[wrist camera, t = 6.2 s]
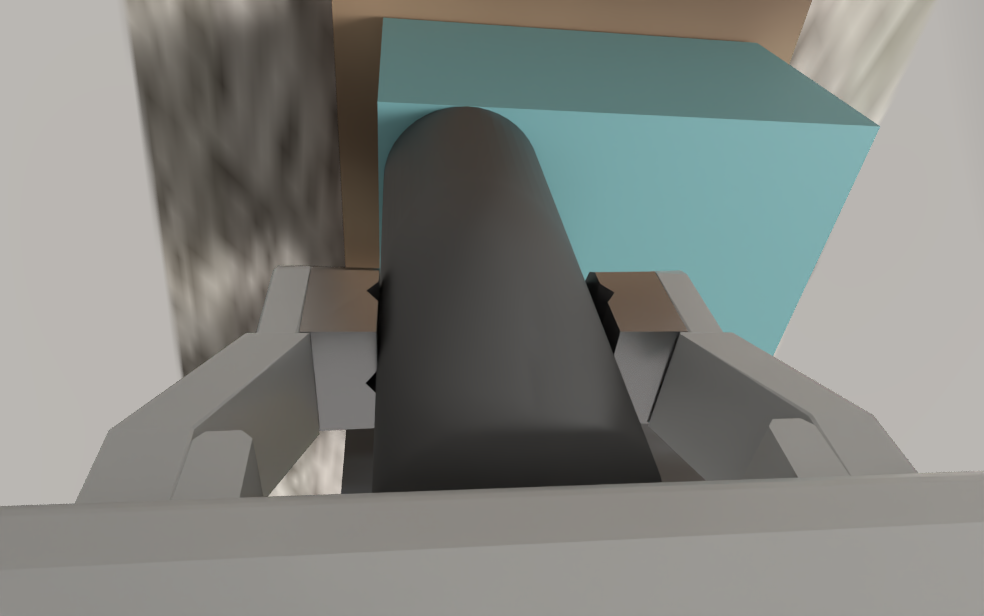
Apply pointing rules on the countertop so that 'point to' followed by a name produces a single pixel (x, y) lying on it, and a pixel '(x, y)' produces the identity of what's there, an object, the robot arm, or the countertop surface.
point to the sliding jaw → (576, 232)
